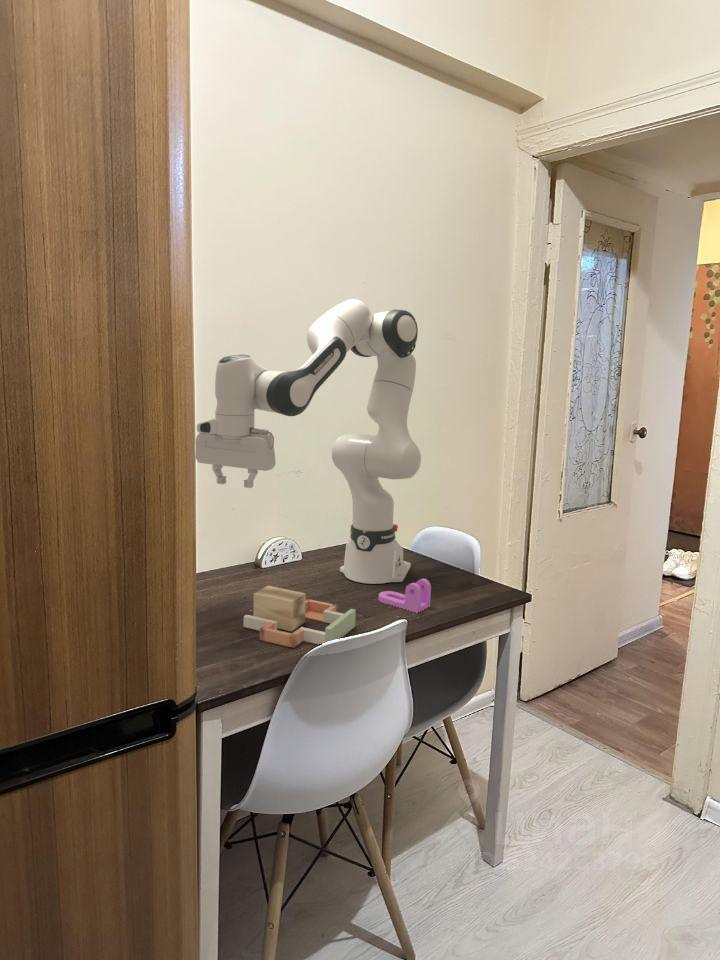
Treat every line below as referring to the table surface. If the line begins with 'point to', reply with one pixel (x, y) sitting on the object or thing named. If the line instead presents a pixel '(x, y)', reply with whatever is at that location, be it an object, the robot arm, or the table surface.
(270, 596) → the maple block
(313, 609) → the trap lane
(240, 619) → the table surface
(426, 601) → the bracket
